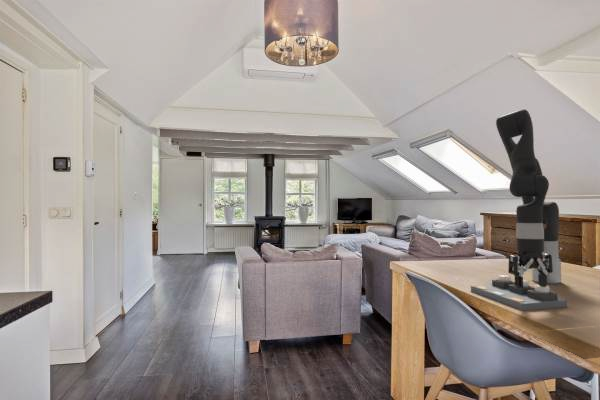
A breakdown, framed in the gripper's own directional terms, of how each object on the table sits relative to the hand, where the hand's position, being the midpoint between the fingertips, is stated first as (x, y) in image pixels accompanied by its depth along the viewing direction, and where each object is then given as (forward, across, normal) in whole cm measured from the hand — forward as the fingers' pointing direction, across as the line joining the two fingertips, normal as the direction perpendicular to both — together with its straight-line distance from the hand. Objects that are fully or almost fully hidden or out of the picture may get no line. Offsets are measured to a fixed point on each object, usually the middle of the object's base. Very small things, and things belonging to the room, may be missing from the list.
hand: (530, 286), depth 110 cm
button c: (+2, -4, 0) cm, 5 cm away
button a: (+2, -4, -16) cm, 17 cm away
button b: (+2, -4, -8) cm, 9 cm away
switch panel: (+6, -1, -8) cm, 10 cm away
